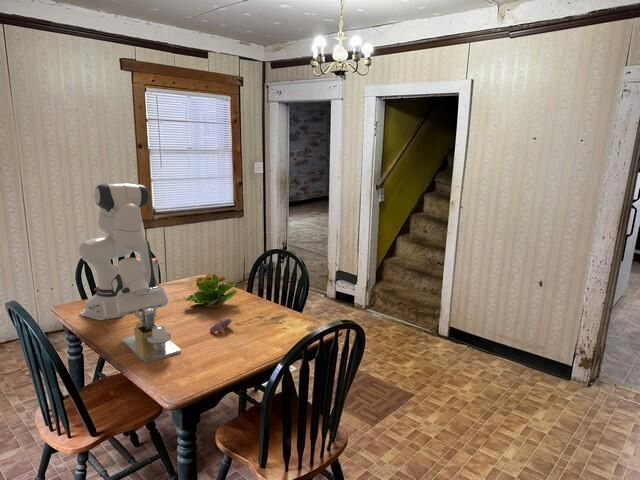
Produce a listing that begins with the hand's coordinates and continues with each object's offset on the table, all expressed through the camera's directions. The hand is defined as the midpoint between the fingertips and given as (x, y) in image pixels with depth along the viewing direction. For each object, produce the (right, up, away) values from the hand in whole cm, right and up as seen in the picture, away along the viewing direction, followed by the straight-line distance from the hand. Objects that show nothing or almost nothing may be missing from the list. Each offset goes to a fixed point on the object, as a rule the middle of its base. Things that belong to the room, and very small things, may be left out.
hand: (148, 319), depth 178 cm
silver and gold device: (0, -12, +2) cm, 12 cm away
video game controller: (+25, -9, +21) cm, 34 cm away
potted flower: (+15, -2, +51) cm, 53 cm away
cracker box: (-26, +2, +61) cm, 66 cm away
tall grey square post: (-1, -6, +2) cm, 6 cm away
